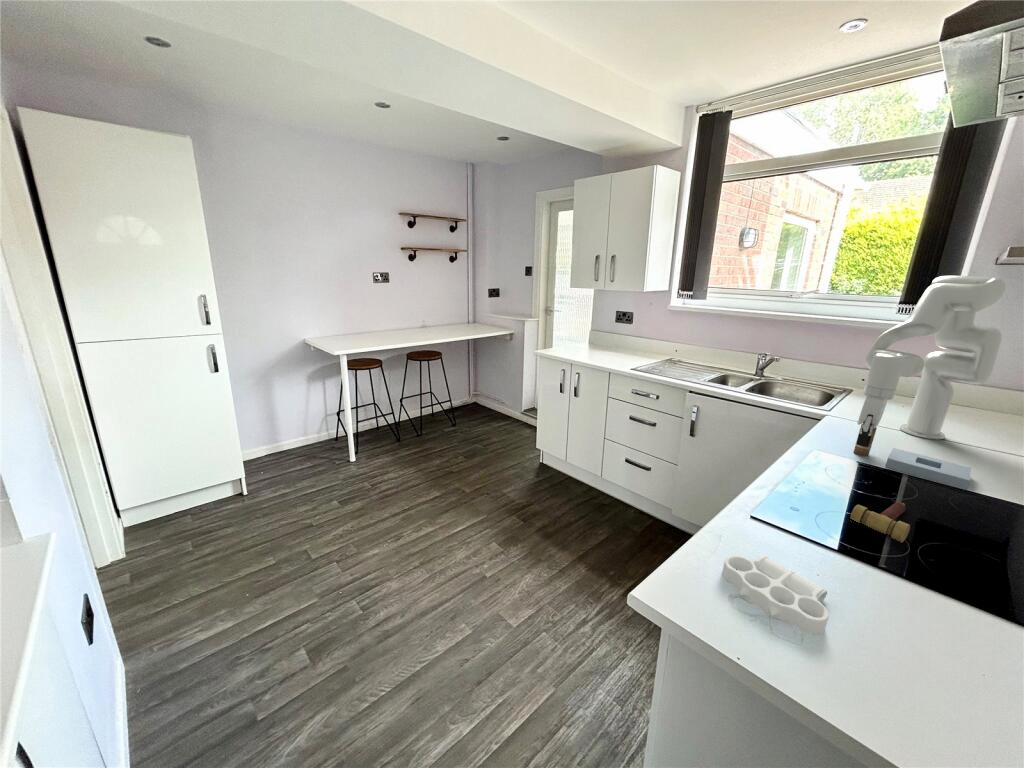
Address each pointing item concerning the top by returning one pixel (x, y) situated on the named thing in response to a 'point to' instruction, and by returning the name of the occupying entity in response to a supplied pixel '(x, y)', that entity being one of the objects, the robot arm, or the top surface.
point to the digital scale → (929, 468)
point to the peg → (861, 449)
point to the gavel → (883, 520)
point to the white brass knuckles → (778, 591)
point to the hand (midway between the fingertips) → (864, 442)
